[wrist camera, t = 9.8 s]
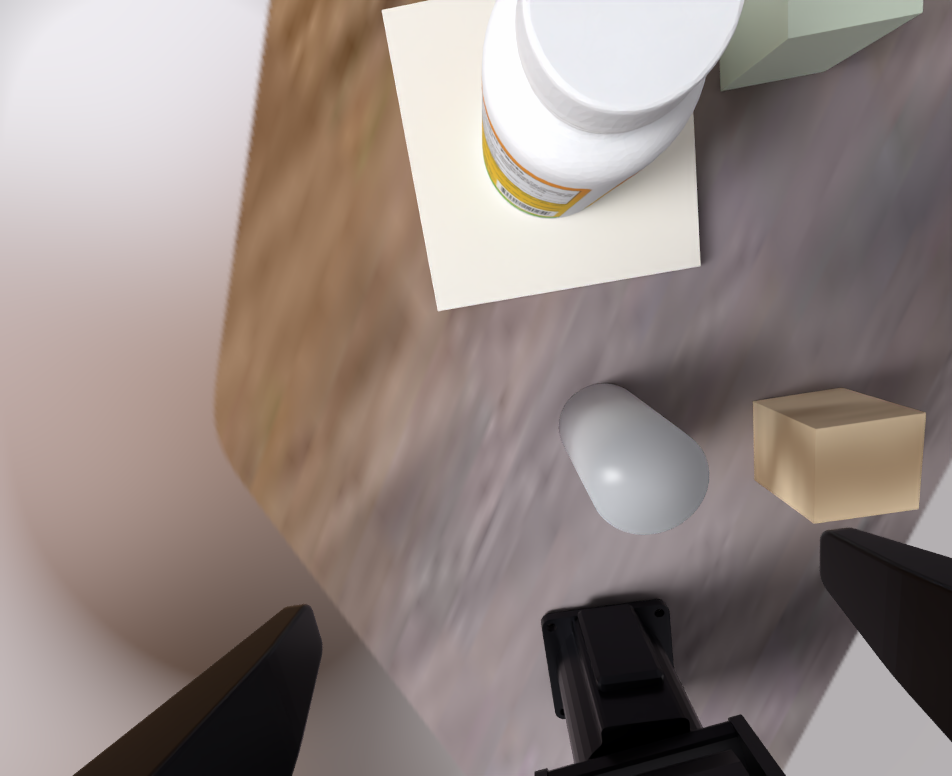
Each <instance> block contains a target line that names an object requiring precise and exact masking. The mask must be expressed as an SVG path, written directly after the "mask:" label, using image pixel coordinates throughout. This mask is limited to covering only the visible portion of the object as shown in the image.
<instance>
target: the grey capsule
mask: <svg viewBox="0 0 952 776" xmlns="http://www.w3.org/2000/svg"><path fill="white" fill-rule="evenodd" d="M559 434H560V438H561V441H562V443H563V445H564V447H565V449H566V451H567V453H568V455H569V457H570V459H571V461H572V463H573V465H574V467H575V469H576V470H577V472H578V474H579V476H580V478H581V480H582V482H583V484H584V486H585V488H586V490H587V492H588V494H589V496H590V498H591V500H592V502H593V504H594V506H595V508H596V510H597V511H598V513H599V514H600V515H601V516H602V518H603V519H604V520H605V521H607V522H608V523H609V524H610V525H612V526H614V527H615V528H617V529H619V530H622V531H624V532H628V533H632V534H639V535H648V534H656V533H661V532H664V531H667V530H670V529H672V528H674V527H676V526H678V525H680V524H681V523H683V522H684V521H685V520H687V519H688V518H689V517H690V516H691V515H692V514H693V513H694V512H695V511H696V510H697V508H698V507H699V506H700V504H701V502H702V501H703V499H704V497H705V494H706V491H707V488H708V483H709V467H708V463H707V459H706V457H705V455H704V452H703V451H702V449H701V448H700V446H699V445H698V444H697V443H696V442H695V441H694V440H693V439H692V438H691V437H690V436H688V435H687V434H686V433H684V432H683V431H682V430H680V429H679V428H678V427H676V426H675V425H674V424H672V423H671V422H670V421H668V420H667V419H666V418H664V417H663V416H662V415H660V414H659V413H658V412H656V411H655V410H653V409H652V408H651V407H649V406H648V405H647V404H645V403H644V402H643V401H641V400H640V399H639V398H637V397H636V396H635V395H633V394H632V393H631V392H629V391H628V390H626V389H625V388H622V387H620V386H617V385H614V384H604V383H602V384H595V385H591V386H588V387H585V388H583V389H582V390H580V391H578V392H577V393H576V394H574V395H573V396H572V397H571V398H570V399H569V400H568V402H567V403H566V404H565V406H564V408H563V410H562V412H561V415H560V419H559Z"/></svg>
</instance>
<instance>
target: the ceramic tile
mask: <svg viewBox="0 0 952 776" xmlns="http://www.w3.org/2000/svg"><path fill="white" fill-rule="evenodd" d="M495 2H496V0H428V1H424V2H419V3H414V4H409V5H404V6H399V7H394V8H390V9H385V10H382V14H383V20H384V25H385V30H386V36H387V41H388V47H389V52H390V57H391V63H392V68H393V73H394V79H395V84H396V89H397V95H398V100H399V105H400V111H401V116H402V121H403V127H404V132H405V138H406V143H407V148H408V154H409V159H410V164H411V170H412V175H413V180H414V186H415V191H416V196H417V202H418V207H419V212H420V218H421V223H422V229H423V234H424V239H425V245H426V250H427V255H428V261H429V266H430V271H431V277H432V282H433V287H434V293H435V298H436V303H437V309H438V311H441V310H447V309H453V308H459V307H465V306H470V305H476V304H482V303H488V302H494V301H500V300H506V299H511V298H517V297H523V296H529V295H535V294H541V293H547V292H552V291H558V290H564V289H570V288H576V287H582V286H587V285H593V284H599V283H605V282H611V281H617V280H623V279H628V278H634V277H640V276H646V275H652V274H658V273H663V272H669V271H675V270H681V269H687V268H693V267H699V266H700V244H699V223H698V201H697V180H696V158H695V137H694V115H693V113H692V115H691V116H690V118H689V120H688V122H687V123H686V125H685V126H684V128H683V129H682V131H681V132H680V134H679V135H678V136H677V137H676V139H675V140H674V141H673V142H672V143H671V144H670V146H669V147H668V148H667V149H666V150H665V151H664V152H663V153H662V154H660V155H659V156H658V157H657V158H656V159H655V160H654V161H653V162H651V163H650V164H649V165H648V166H646V167H645V168H644V169H642V170H641V171H640V172H638V173H637V174H635V175H634V176H632V177H631V178H629V179H628V180H626V181H625V182H623V183H622V184H620V185H619V186H618V187H616V188H615V189H613V190H612V191H610V192H609V193H607V194H606V195H604V196H603V197H602V198H600V199H599V200H597V201H596V202H594V203H593V204H592V205H590V206H589V207H587V208H585V209H583V210H581V211H580V212H578V213H575V214H573V215H570V216H566V217H562V218H555V219H544V218H537V217H533V216H530V215H527V214H524V213H522V212H520V211H518V210H517V209H515V208H514V207H512V206H511V205H510V204H508V203H507V202H506V201H505V200H504V199H503V198H502V197H501V196H500V194H499V193H498V192H497V190H496V189H495V187H494V186H493V184H492V183H491V181H490V178H489V176H488V174H487V171H486V168H485V164H484V158H483V149H482V89H481V88H482V78H481V76H482V56H483V44H484V39H485V33H486V29H487V25H488V21H489V18H490V15H491V12H492V9H493V7H494V4H495Z"/></svg>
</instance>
